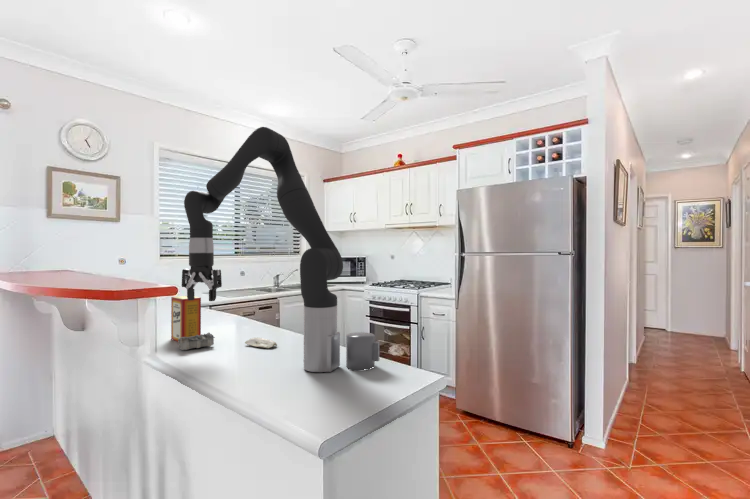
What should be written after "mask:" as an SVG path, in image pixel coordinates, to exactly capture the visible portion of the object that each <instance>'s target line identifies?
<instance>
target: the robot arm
mask: <svg viewBox="0 0 750 499" xmlns="http://www.w3.org/2000/svg"><path fill="white" fill-rule="evenodd" d="M291 150H292V149H291V147H290V144H289V142H288V140H287V139H286V138H285V136H284V135H283V134H280V133H279V132H278V131H275V130H273V129H271V128H269V127H267V126H260V127H258V128H256V129H255V130H254V131H252V133H251V134H250V135H249V136H248V137H247V138H246V139H245V140H244V142H243V143H242V144H241V146H240V147H239V148H238V150H237V151H236V152H235V154H234V155H233V156H232V158H231V159H230V160H229V162H227V163H226V165H225V166H224V167H222V168H221V169H220V170H219V171H218V172H217V173H216V174H214V175H213V176H212V177H211V178H210V179H209V180H208V181H207V183H206V186H205V187H206V191H207V192H206V191H201V190H190V191H189V192H187V193H186V194H185V197H184V199H183V206H184V210H185V214H186V218H187V221H188V225H189V242H188V266H189V267H190V268H184V269H181V270H182V272H181V287H182V288H185V289H186V296H187V298H188V300H190V301H191V300H194V296H195V287H196V285H197V284H199V283H202V284H203V283H204V285H205V286H207V287H208V289H209V290H208V301H209V302H215V301H216V300H217V290H218V289H220V288H222V286H223V285H222V284H223V283H222V271H221V269H220V268H218V269H214V268H213V266H214V265H215V264H214V257H215V256H214V252H215V251H214V249H215V247H214V246H215V245H214V239H213V236H214V231H213V230H214V228H213V227H214V226H213V222H212V221H210V220H208V219H206V218H205V216H204V214H211V213H214V212H215V211H217V210H218V209H219V208H220V206H221V205H222V203H223V202H224V200H225V198H226V197H227V196H228V195H229V194H230V193H232V192H233V191H234V190H235V189H236V188H238V186H239V185H240V183H241V182H242V180H243V177H244V174H245V171H246V169H247V167H248V166H249V165H250V164H251V163H252V162H253V161H255V160H257V159H258V158H259V159H260V158H261V159H262V160H265V161H267V162H268V163H270V165H271V167H272V168H273V171H274V172H275V175H276V179H277V187H276V198H277V201H278V204H279V206H280V209H281V210H282V213H283V215H284V217H285V219H286V221H288V222H289V224H290V225H291V226H292V227H293V228H294V229H295V230H296V231H297V232H298V233H299V234H300V235H301V236H302V237H303V238H304V240H305V241H306V242H307V243H308V245H309V247H310V248H308V249H306V250H305V251H304V252H303V254H302V255H301V259H300V262H299V263H300V264H299V277H300V281H299V282H300V292H301V293H300V294H301V297H302V300H303V370H305V371H308V372H314V373H323V372H326V373H327V372H328V373H329V372H330V373H331V372H333V371H334V370H336V369H338V367H340V366H341V332H340V331H338V296H337V295H336V294H335V293H332V292H331V291H330V290H329V288H328V281H332V280H337V279H338V278H340V276H341V275H342V273H343V270H344V262H343V258H342V255H341V254H340V251H339V249H338V248H337V246H336V245H335V244H336V243H334V241H333V239H332V238H331V236H330V234H329V233H328V231H327V229H326V227H325V225H324V222H323V221H322V219H321V217H320V215H319V213H318V211H317V209H316V206H315V204H314V202H313V199H312V197H311V195H310V192H309V190H308V188H307V187H306V184H305V182H304V181H303V178H302V176H301V174H300V172H299V170H298V167H297V165H296V162H295V160H294V156H293V152H292V151H291Z"/></svg>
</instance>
